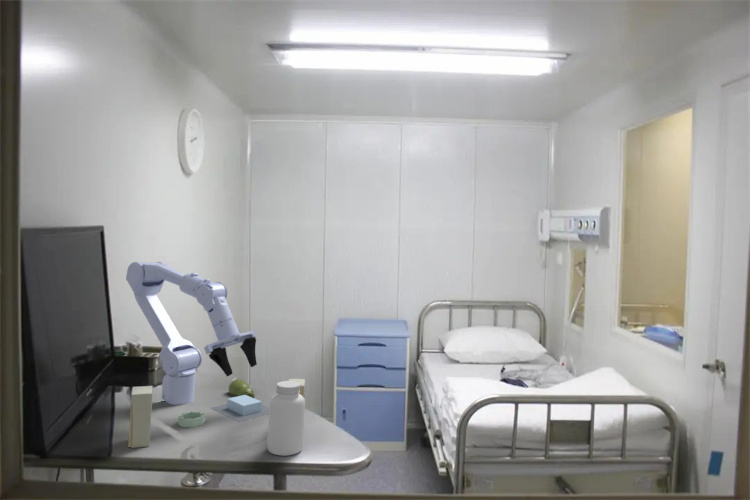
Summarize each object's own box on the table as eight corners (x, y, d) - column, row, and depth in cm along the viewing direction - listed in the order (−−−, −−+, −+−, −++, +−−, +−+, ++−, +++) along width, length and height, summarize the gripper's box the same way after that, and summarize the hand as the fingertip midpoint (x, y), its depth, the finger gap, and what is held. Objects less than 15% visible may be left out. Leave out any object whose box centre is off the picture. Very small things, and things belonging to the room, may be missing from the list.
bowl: (174, 427, 121) (174, 415, 121) (196, 421, 125) (197, 409, 125) (186, 433, 117) (186, 421, 117) (208, 427, 121) (209, 415, 121)
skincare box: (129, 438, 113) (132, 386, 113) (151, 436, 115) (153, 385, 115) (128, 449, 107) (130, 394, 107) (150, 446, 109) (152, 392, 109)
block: (226, 408, 133) (227, 398, 133) (244, 403, 137) (244, 394, 137) (243, 415, 128) (243, 405, 128) (261, 411, 132) (261, 401, 132)
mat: (210, 412, 133) (210, 407, 133) (248, 403, 142) (248, 399, 142) (238, 426, 123) (239, 421, 123) (277, 415, 132) (277, 411, 132)
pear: (242, 375, 151) (260, 388, 144) (240, 391, 151) (257, 405, 144) (226, 378, 147) (243, 391, 140) (224, 395, 147) (241, 408, 140)
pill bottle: (295, 458, 106) (298, 390, 106) (261, 454, 108) (264, 386, 108) (307, 444, 114) (310, 380, 114) (275, 440, 115) (278, 377, 115)
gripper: (205, 325, 124) (225, 374, 121) (253, 312, 135) (271, 357, 132) (194, 334, 128) (212, 382, 126) (241, 321, 139) (258, 365, 137)
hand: (242, 370), depth 129 cm, fingers open, 7 cm apart
